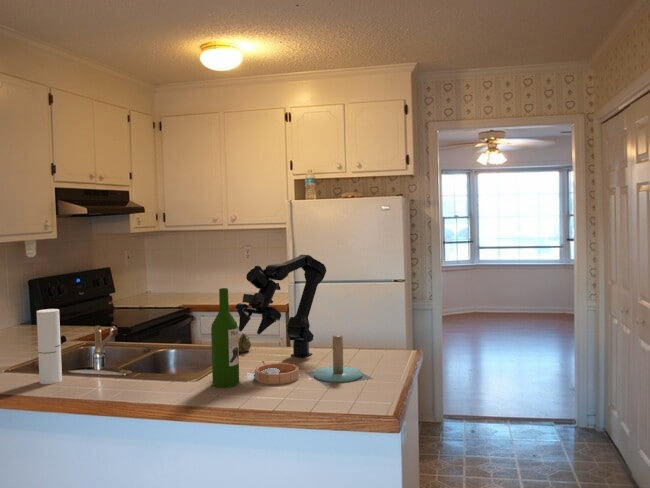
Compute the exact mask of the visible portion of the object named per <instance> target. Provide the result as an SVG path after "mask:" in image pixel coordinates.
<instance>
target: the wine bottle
mask: <svg viewBox="0 0 650 488" xmlns="http://www.w3.org/2000/svg"><path fill="white" fill-rule="evenodd" d="M218 291H219V292H218V293H219V295H218V299H219V301H218V302H219V303H218V304H219V305H218V307H219V311H218V313H217V315H215V318H214V320H213V321H212V323H211V331H210V334H211V337H210V339H211V340H210V341H211V367H212V368H211V370H212V371H211V372H212V373H211V374H212V376H211V377H212V378H211V379H212V385H213V387H215V388H221V389H222V388H223V389H227V388H232V387H233V388H234V387H236V386H238V385H240V360H239V359H240V355H239V354H240V353H239V346H238V336H239V324H238V322H237V321H236V319H235V318H234V317H233V315H232V313H231V312H230V305H229V288H228V287H224V288H219V289H218Z"/></svg>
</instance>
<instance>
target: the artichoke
mask: <svg viewBox="0 0 650 488" xmlns="http://www.w3.org/2000/svg"><path fill="white" fill-rule="evenodd" d="M250 338H251V337H250V336H249V335H248V334H247V333H243V332H242V333H241V335H238V346H239V352H240V353H245V352H248V351H249V350H251V347H252V343H251V339H250Z"/></svg>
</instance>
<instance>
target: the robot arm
mask: <svg viewBox="0 0 650 488" xmlns="http://www.w3.org/2000/svg"><path fill="white" fill-rule="evenodd" d="M299 269H302V270H303V271H304V273H303V276H304V278H305V285H304V287H303V290H302V294H301V297H300V301H299V304H298V307H297V311H296V314H295V315H294V316H290V317H289V318H288V323H287V325H286V327H287V328H286V331H287V335H288V338H289V341H293V348H292V350H293V351H292V352H293V353H291V354H290V356H291V357H296V358H302V359H304V358H306V357H309V356H311V355H313V352H310V343H311V342H312V341H313V340H314V337H315V336H314V334H313V332H312V331H311V330H310V327H311V325H310V321H309V315H310V313H311V310H312V305H313V302H314V298H315V296H316V291H317V288H318V286H319V284H320V283H321V282H322V281H323V280H324V279H325V276H326V273H327V267H326V265H325V264H324V263H323V262H321V261H319V260H318V259H315V258H313V256H312V255H310V254H300V255H298V256H295V257H294V258H291V259H290V260H287V261H284V262H282V263H273V264H268V265H266V267H265V268H264V269H263V268H262V267H261V266H260V265H254V267H253V268H251V269H250V270H249V271H248V272H247V274H246V277H245V278H246V280H247V282H249V283H250V284H251V285H253V286H254V287H255V288H256V289H259V290H258V292H255V293H254V294H251V293H250V294H249V293H243V295H242V300H241V303H237V304H236V305H235V307H234V310H235V311H236V312H237V314H238V316H239V321H238V323H239V324H238V332H240V333H241V332H242V331H243V330H244V329H245V327H246V326H247V324H248V323H249V321H250V320H251V316H253V314H255V315H256V314H257V315H261V320H260V323H259V327H258V329H257V332H256V334H257V335H261V334H262V333H263V332H264V331H265V330H267V328H269V327H270V326H271V325H273V324H274V323H277V321H280V320H281V318H282V313H281V312H280V311H279V310H278V309H277V308H276V307H274V306H270V305H271V304H273V303H274V301H273V297H274V295H275V293H276V291H280V290H281V286H280V283H279V282H275V281H283V280H285V279H286V278H287V277H288V275H290V273H292V272H294V271H297V270H299ZM247 304H248V305H247Z"/></svg>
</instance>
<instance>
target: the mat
mask: <svg viewBox="0 0 650 488" xmlns="http://www.w3.org/2000/svg"><path fill="white" fill-rule="evenodd" d="M348 367H351V366H348ZM315 371H316V370H315ZM315 371H313V370H312V371H306V372H305V374H306V375H308V376H309V377H311V378H313V379H314V380H316V381H317V382H318V383H321V384H322V385H323V386H325V387H328V386H333V385H341V384H345V383H346V384H347V383H353V382H361V381H366V380H367V381H368V380H374V378H373V377H371V376H370V375H367V374H365V373H363V376H362V377H361V378H360V379H358V380H355V381H350V382H338V383H337V382H325V381H321V380H318V379H316V378H315V377H314V372H315Z"/></svg>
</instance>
